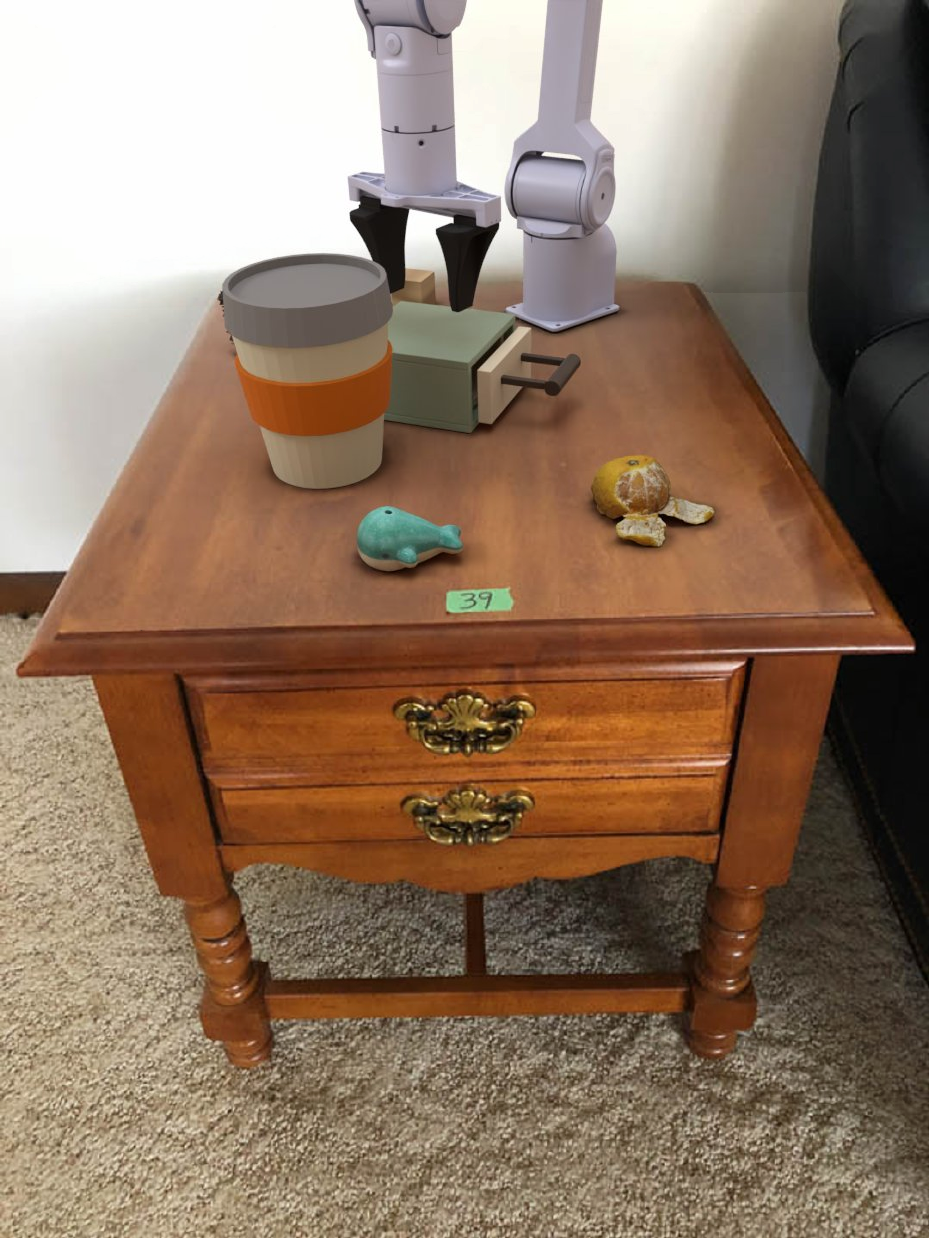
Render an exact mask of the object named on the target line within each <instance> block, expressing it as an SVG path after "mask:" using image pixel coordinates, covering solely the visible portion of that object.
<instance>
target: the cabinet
mask: <svg viewBox="0 0 929 1238" xmlns="http://www.w3.org/2000/svg"><path fill="white" fill-rule="evenodd" d="M392 307H393V306H392ZM516 318H517V317H516V315H515V314H509V313H506V312H499V311H492V310H491V311H490V310H482V309H475V308H467V309H465V310H463V311H461V312H454V311H452V310H451V306H448V305H447V306H446V305H441V304H440V305H438V304H435V305H431V304H422V303H413V302H405V301H400V302H399V303H398V304H396V305H395V306H394V307H393V314H392V317H391V318H390V320H389V323H388V340H389V341H390V342H391V345H392V348H393V351H392V370H391V390H390V403H389V407H388V408H387V410H386V412H385V413H384V421H389V422H394V423H402V424H408V425H415V426H421V427H427V428H433V429H440V430H446V431H453V432H459V433H466V434H471V433H472V432H473V431H474V430H475V429H476V427H477V426H479V424H480V422H479V420H478V403H477V404H476V406H475V407H474V408H473V409H472V374H471V367H472V366H473V365H474V364H475V363H476V362H477V361H478V360H479V359H480V358H481V357H482V355H483V354H484V353H485V352H486V351H487V350H488V349H489V348H490V347H491V346H492V345H493V344H494V343H495V342H496V341H497V340H498V339H499V338H500V337H501V336H502V335H503V334H504V342H505V341H506V340H507V339H508V337H509V336H510V335H511V334H512V333H513V332H514V331H515V330H516V329H517V327H516V325H517V324H516V322H517V321H516V320H517V319H516Z"/></svg>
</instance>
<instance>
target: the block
mask: <svg viewBox="0 0 929 1238" xmlns="http://www.w3.org/2000/svg"><path fill="white" fill-rule="evenodd" d="M405 272H406V276H405V286H404V288H403V289H401V290H399V291H396V292H394V293H392V294H391V301H392V307H394V306H395V305H396V304H398V303H399V302H400V301H405V302H413V303H422V304H431V305H437V299H436V298H437V297H436V296H437V295H436V275H435V271H434V270H425V269H418V268H417V269H416V268H408V267H407V268H406V267H405Z"/></svg>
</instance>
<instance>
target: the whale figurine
mask: <svg viewBox="0 0 929 1238" xmlns="http://www.w3.org/2000/svg"><path fill="white" fill-rule="evenodd" d="M461 535H462V530H461V528H460V527H459V526H458V525H454V524H446V525H443V526H440V525H437V524H435V523H434V522H431V521H429V520H427V519H426V518H423V517H421V516H418V515H416V514H413V513H410V512H408V511H405V510H402V509H400V508H397V507H395V506H389V505H386V506H381V507H377V508H375V509H373V510H372V511H370V512H369V513H367V514H366V515H365V516H364V518H363V519H362V520H361V522H360V523H359V526H358V529H357V533H356V545H357V551H358V555H359V556H360V558H361V559H362V561H363V562H364V563H365V564H366V565H368V566H369V567H371V568H373V569H375V570H379V571H382V572H383V571H385V572H394V571H398V570H399V571H400V570H402V569H405V568H408V569H413V568H415V567H416V566H417V565H418V564H420V563H422V562H424V561H425V562H426V561H427V560H429V559H431V558H433V557H435V556H437V555H439V554H441V553H447V554H452V555H453V554H454V555H455V554H458V553H461V552H462V551H463V549H464V545H463V542H462V541H461V539H460V537H461Z"/></svg>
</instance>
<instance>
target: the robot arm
mask: <svg viewBox="0 0 929 1238" xmlns="http://www.w3.org/2000/svg"><path fill="white" fill-rule="evenodd" d="M353 1H354V6H355V10H356V13H357V16H358V18H359V20H360V23H362V25H363V28H364V30H365V34H366V42H367V51H368V52H369V53H370V56H371V57H370V58H372V59H374V60H375V63H376V65H375V66H376V77H377V91H378V103H379V105H378V106H379V118H380V130H381V143H382V145H381V146H382V157H383V170H384V173H382V172H370V171H363V170H362V171H360V172H357V173H354V174H351V175H348V176H347V187H348V194H349V195H348V196H349V201H351V202H356V203H357V202H359V204H358V206H357V207H358V208H355V209H352V210H350V211H349V213H348V214H349V221H350V223H351V224H352V226H353V227H354V228H355V230H356V231H357V233H358V235H359V236H360V237H361V239H362V241H363V243H364V244H365V247H366V249H367V251H368V253H369V256H370V258H371V260H372V261H374V262H376V263H378V264H380V265H381V266H382V267H383V268H384V269H385V272H386V274H387V280H388V285H389V290H390V295H392V293H394V292H396V291H399V290H401V289H403V288H404V286H405V276H406V272H405V268H406V251H405V250H406V236H407V227H408V220H409V215H410V210H412V211H417V212H422V213H426V214H432V215H438V216H442V217H447V218H452V219H453V221H452V222H449V223H447V224H444V225H441V226H438V227H437V228H435V235H436V237H437V238H436V239H437V240H438V243H439V245H440V248H441V251H442V255H443V259H444V260H443V261H444V264H445V269H446V273H447V274H446V276H447V290H448V300H449V301H448V302H449V305H450V306H449V307H451V310H452V311H454V312H461V311H463V310H465V309H470V308H471V307H473V306H474V300H475V295H476V290H477V285H478V281H479V278H480V273H481V270H482V267H483V264H484V261H485V259H486V256H487V253H488V251H489V249H490V247H491V245H492V242H493V241H494V238H495V237H496V235H497V233H498V231H499V230H500V222H502V196H501V195H498V194H493V193H491V192H490V193H488V192H486V191H483V190H481V189H478V188H476V187H473V186H471V185H468V184H466V183H464V182H460V181H458V177H457V151H456V149H457V147H456V146H457V145H456V117H455V114H456V113H455V95H454V94H455V90H454V87H455V86H454V62H453V61H454V60H453V58H454V57H453V32H454V30H456V29H457V28H458V27H460V25H461V24H462V21H463V19H464V16H465V12H466V8H467V3H468V2H467V1H468V0H353ZM603 4H604V0H547V5H546V14H545V16H546V17H545V26H544V38H543V39H544V40H543V50H542V64H541V73H540V74H541V76H540V85H539V86H540V88H539V97H538V99H539V100H538V113H537V120H536V121H534V123H533V124H532V125H530V126H529V127H528V128H527V129H526V130H525V131H524V132H522V133H521V134H520V135H519V136H517V137H516V138H515V140H514V141H513V147H512V155H511V160H510V164H509V168H508V170H507V173H506V176H505V180H504V194H503V195H504V202H505V205H506V207H507V210H508V213H509V215H510V216H511V217H512V218H513V219H515V220H516V229H518V230H522V233H523V234H522V235H523V236H522V302H520V303H516V304H513V305H511V306H507V307H505V313H509V314H515V315H516V318H518V319H519V320H523V321H526V322H527V323H530V324H532V325H535V326H538V327H540V328H542V329H544V330H547V331H549V332H552V333H555V332H557V333H558V332H561V331H563V330H566V329H568V328H572V327H574V326H578V325H581V324H584V323H586V322H590V321H592V320H595V319H598V318H601V317H604V316H607V315H610V314H613V313H617V312H619V311H620V306H619V305H618V304H616V303H615V291H616V290H615V287H616V271H617V255H618V254H617V252H618V251H617V250H618V249H617V244H616V243H617V242H616V239H615V236H614V233H613V231H612V229H611V228H610V226H609V225H608V224H606V221H608V219H609V217H610V215H611V213H612V211H613V207H614V204H615V198H616V189H617V188H616V183H617V182H616V177H615V158H616V157H615V155H616V154H615V147H614V145H612V143H611V142H610V141H609V140H608V139H607V138H606V137H605V135H603V134H602V133H601V131H600V130H598V128H597V127H596V125H594V124H593V122H592V121H591V118H592V107H593V98H594V90H595V79H596V72H597V71H596V69H597V59H598V51H599V42H600V41H599V40H600V31H601V24H602V14H603V13H602V12H603ZM544 153H552V154H561V155H572V156H575V157H578V158H580V159H576V158H567V157H559V156H549V155H543V154H544Z"/></svg>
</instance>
